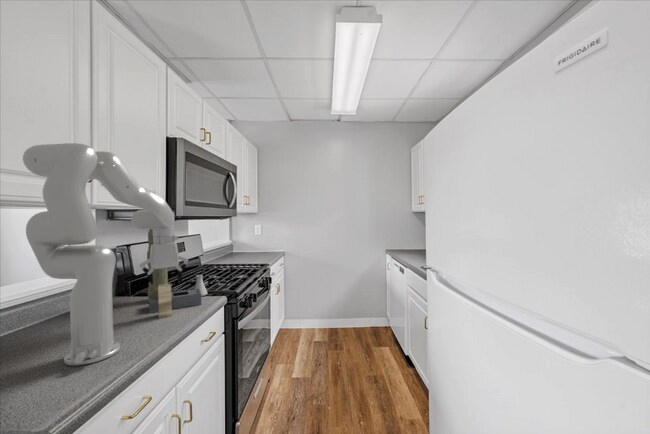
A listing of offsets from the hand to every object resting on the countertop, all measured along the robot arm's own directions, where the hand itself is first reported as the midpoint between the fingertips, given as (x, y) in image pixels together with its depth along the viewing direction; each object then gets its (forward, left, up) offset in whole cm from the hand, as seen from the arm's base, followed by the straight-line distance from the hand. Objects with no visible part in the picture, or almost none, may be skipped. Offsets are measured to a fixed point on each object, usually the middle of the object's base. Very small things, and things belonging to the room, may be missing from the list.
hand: (165, 282), depth 117 cm
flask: (+24, -15, -13) cm, 31 cm away
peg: (-1, 0, -13) cm, 13 cm away
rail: (+11, -4, -13) cm, 18 cm away
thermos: (+26, +3, -13) cm, 30 cm away
